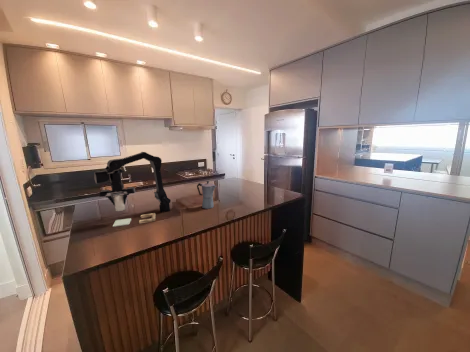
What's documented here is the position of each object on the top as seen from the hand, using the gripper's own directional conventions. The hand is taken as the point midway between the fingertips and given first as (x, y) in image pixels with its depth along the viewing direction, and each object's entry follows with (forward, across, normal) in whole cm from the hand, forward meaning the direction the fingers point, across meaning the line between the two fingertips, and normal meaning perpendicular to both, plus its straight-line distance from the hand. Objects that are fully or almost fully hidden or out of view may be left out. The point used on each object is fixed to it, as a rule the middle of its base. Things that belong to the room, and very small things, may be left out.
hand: (119, 204), depth 125 cm
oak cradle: (+12, -14, 0) cm, 18 cm away
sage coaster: (+12, 0, 0) cm, 12 cm away
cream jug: (+3, 0, -1) cm, 3 cm away
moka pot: (+12, -56, -7) cm, 58 cm away
